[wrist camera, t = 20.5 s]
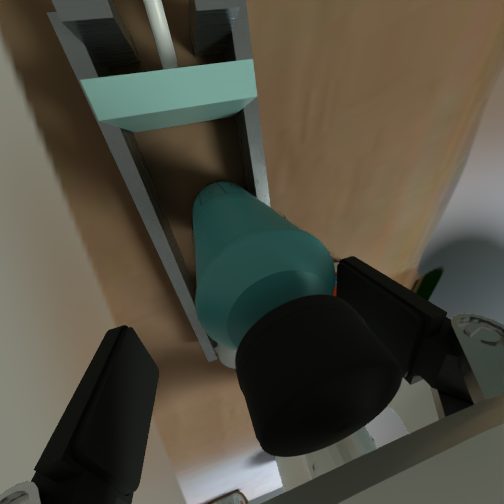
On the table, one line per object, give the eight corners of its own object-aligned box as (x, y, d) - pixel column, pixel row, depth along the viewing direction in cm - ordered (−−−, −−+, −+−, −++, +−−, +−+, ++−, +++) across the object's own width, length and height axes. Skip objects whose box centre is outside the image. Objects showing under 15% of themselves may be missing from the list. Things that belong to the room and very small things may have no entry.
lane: (276, 317, 32) (293, 349, 27) (206, 341, 30) (210, 380, 25) (235, 27, 16) (256, -33, 10) (77, 42, 14) (10, -22, 9)
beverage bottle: (189, 233, 22) (182, 532, 5) (193, 170, 19) (209, 334, 2) (245, 238, 24) (379, 457, 7) (255, 181, 21) (519, 309, 4)
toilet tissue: (271, 449, 56) (286, 504, 47) (310, 431, 57) (331, 481, 49) (276, 461, 61) (290, 512, 52) (311, 444, 63) (330, 491, 54)
